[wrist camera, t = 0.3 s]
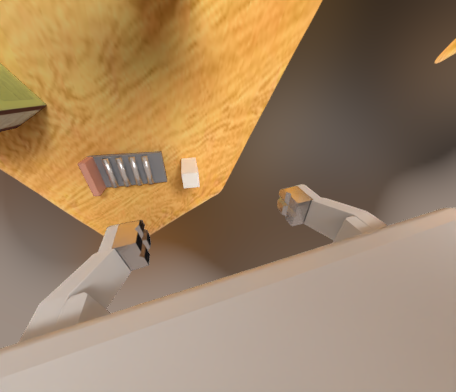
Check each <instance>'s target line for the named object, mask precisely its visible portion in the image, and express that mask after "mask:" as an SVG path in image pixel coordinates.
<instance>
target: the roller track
mask: <svg viewBox="0 0 456 392" xmlns="http://www.w3.org/2000/svg"><path fill="white" fill-rule="evenodd" d="M78 166H79V168H80V170H81V172H82V174H83V176H84V178H85V180H86V182H87V184H88V186H89V188H90V190H91V192H92V193H93V195H94V196H100V195H101V194H102V193H103V191H104V190H105V189H106V187H113V188H116V187H119V186H126V187H128V186H130V185H142V184H147V183H148V184H154V183H158V182H167V176H166V171H165V167H164V162H163V157H162V152H161V151H160V152H143V153H127V154H110V155H94V156H87V157H86V158H85V159H83V160H82V161H81V162H79V163H78Z"/></svg>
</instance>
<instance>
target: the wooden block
mask: <svg viewBox="0 0 456 392" xmlns="http://www.w3.org/2000/svg"><path fill="white" fill-rule="evenodd" d="M181 174H182V181H183V187H184V188H193V187H200V185H199V174H198V168H197V163H196V158H182V159H181Z"/></svg>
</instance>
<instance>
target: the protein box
mask: <svg viewBox="0 0 456 392" xmlns="http://www.w3.org/2000/svg"><path fill="white" fill-rule="evenodd" d="M45 106H46V104H45V103H44V102H43V101H42V100H41V99H40V98H38V97H37V96H36V95H35V94H34V93H33V92H32V91H31V90H30V89H28V88H27V87H26V86H25V85H24V84H23V83H22V82H21V81H20V80H19V79H17V78H16V77H15V76H14V75H13V74H12V73H11V72H10V71H9V70H7V69H6V68H5V67H4V66H3V65H2V64H1V63H0V132H1V131H5V130H10V129H14V128H17V127H18V126H20V125H21V124H22V123H24V122H25V121H26V120H28V119H29V118H30V117H32V116H33V115H34V114H36V113H37V112H38V111H40V110H41V109H42V108H44V107H45Z"/></svg>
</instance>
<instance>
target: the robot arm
mask: <svg viewBox="0 0 456 392" xmlns="http://www.w3.org/2000/svg"><path fill="white" fill-rule="evenodd" d="M279 195H280V198H279V200H278V203H277V205H278V209H279V211H280V213H281V214H283V215H285V216H286V220H287V221H288V222H289V224H290V225H291V226H295V225H299V224H303V223H304V224H305V225H307V226H309V227H310V228H312V229H314V230H316V231H318V232H320V233H321V234H323V235H325V236H327V237H329V238H331V239H332V240H334V242H333V243H331V244H328V245H325V246H322V247H319V248H316V249H312V250H310V251H306V252H303V253H300V254H297V255H294V256H290V257H287V258H284V259H281V260H278V261H275V262H272V263H269V264H265V265H262V266H259V267H256V268H253V269H250V270H246V271H243V272H240V273H237V274H234V275H231V276H228V277H224V278H221V279H218V280H215V281H212V282H208V283H206V284H202V285H199V286H196V287H193V288H190V289H187V290H184V291H180V292H177V293H174V294H171V295H167V296H164V297H161V298H158V299H155V300H152V301H149V302H145V303H142V304H139V305H136V306H133V307H130V308H126V309H124V310H120V311H117V312H114V313H110V312H109V311H108V310H106V309H107V307H108V306H109V304H110V303H111V301H112V300H113V298H114V297H115V295H116V294H117V292H118V291H119V289H120V288H121V286H122V285H123V283H124V282H125V280H126V279H127V277H128V276H129V274H130V273H131V271H132V270H135V269H139V268H142V267H145V266H148V265H149V258H150V254H149V252H148V250H149V248H150V245H151V242H150V236H149V233H148V231H147V230H145V229H144V226H145V225H144V223H143V221H142V220H137V221H132V222H126V223H121V224H117V225H112V226H109V227H108V228H107V230H106V232H105V235H104V238H103V240H102V243H101V245H100V248H99V251H98V253H95V254H93V255H92V256H91V257H90V258H89V259H88V260H87V261H86V262H85V263H83V264H82V265H81V266H80V267H79V268H78V269H77V270H76V271H75V272H74V273H73V274H71V275H70V276H69V277H68V278H67V279H66V280H65V281H64V282H63V283H62V284H61V285H59V286H58V288H56V289H55V290H54V291H53V292H52V293H51V294H50V295H49V296H48V297H46V298H45V299H44V300H43V301H42V302H41V303H40V304H39V306H38V308H37V310H36V311H35V313H34V315H33V317H32V319H31V320H30V323H29V324H28V326H27V328H26V330H25V332H24V333H23V335H22V337H21V339H20V341H19V342H18V343H16V344H13V345H10V346H7V347H3V348H0V392H456V208H442V209H438V210H436V211H432V212H429V213H426V214H423V215H420V216H416V217H413V218H410V219H407V220H404V221H401V222H398V223H394V224H391V225H386V224H385V223H383V222H382V221H381V220H379V219H378V218H376V217H375V216H373V215H372V214H370V213H369V212H367V211H365V210H361V209H358V208H355V207H352V206H349V205H346V204H342V203H339V202H336V201H333V200H330V199H326V198H321V197H319V196H318V195H317V194H316V193H314V192H313V191H312V190H311V189H309V188H308V187H307V186H305V185H304V184H301V185H297V186H293V187H289V188H284V189H281V190H280V192H279Z"/></svg>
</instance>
